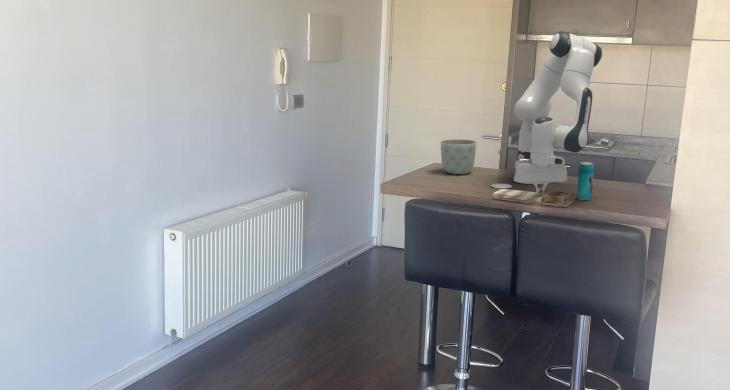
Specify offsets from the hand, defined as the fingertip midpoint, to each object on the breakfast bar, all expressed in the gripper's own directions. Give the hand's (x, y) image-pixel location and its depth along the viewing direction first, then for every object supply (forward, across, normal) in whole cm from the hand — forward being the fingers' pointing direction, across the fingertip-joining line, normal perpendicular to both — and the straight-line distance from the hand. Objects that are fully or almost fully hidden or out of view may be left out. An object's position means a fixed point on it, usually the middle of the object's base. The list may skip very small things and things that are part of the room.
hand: (540, 192), depth 287 cm
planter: (+4, -27, +59) cm, 65 cm away
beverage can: (+4, +19, +4) cm, 20 cm away
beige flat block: (+4, -7, +4) cm, 9 cm away
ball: (+2, +8, -3) cm, 9 cm away
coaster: (+4, -11, +27) cm, 30 cm away
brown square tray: (+4, +6, -3) cm, 8 cm away
